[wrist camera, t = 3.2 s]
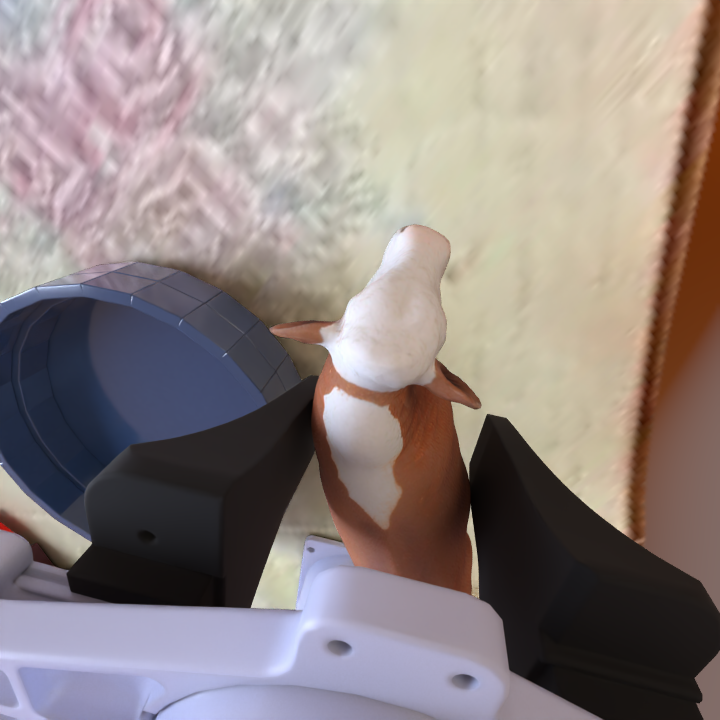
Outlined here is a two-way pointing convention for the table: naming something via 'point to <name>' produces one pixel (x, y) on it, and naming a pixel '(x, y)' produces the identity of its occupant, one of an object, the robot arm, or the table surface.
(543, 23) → the table surface
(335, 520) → the bull figurine
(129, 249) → the table surface
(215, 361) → the bowl
